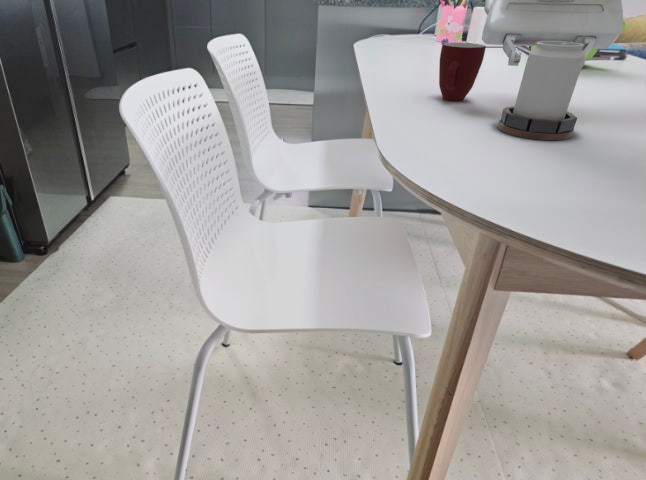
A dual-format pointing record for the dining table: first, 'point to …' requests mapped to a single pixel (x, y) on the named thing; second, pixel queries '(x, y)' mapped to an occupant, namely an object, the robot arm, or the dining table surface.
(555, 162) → the dining table surface
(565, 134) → the base pad
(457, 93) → the mug
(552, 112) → the can
